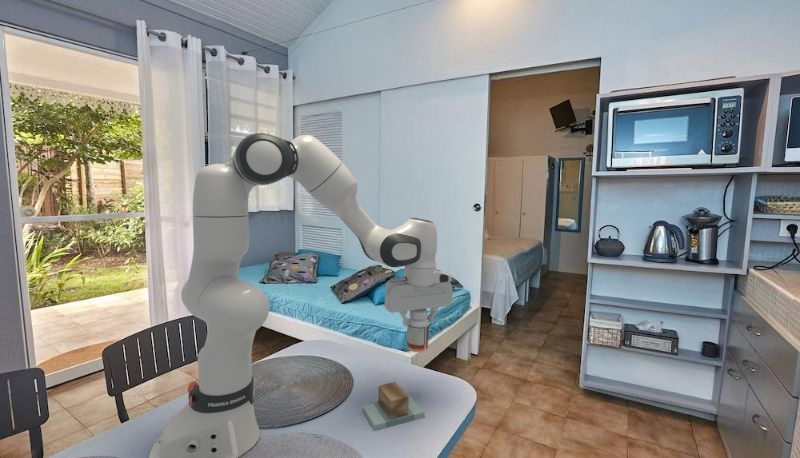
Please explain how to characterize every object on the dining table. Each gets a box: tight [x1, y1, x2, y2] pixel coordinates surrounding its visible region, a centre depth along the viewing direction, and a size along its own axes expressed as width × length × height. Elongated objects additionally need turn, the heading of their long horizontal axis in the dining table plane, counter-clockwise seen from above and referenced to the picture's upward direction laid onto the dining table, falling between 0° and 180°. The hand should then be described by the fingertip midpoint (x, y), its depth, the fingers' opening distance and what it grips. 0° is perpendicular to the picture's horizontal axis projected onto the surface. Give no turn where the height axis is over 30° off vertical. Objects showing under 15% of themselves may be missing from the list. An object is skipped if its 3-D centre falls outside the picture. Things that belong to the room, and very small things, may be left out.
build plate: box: [362, 394, 425, 431], centre depth 99 cm, size 14×9×1 cm, turn 115°
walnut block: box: [377, 381, 409, 419], centre depth 98 cm, size 5×8×5 cm, turn 27°
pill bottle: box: [406, 308, 430, 353], centre depth 106 cm, size 6×6×11 cm
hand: (418, 323), depth 105 cm, fingers closed on pill bottle, 6 cm apart
